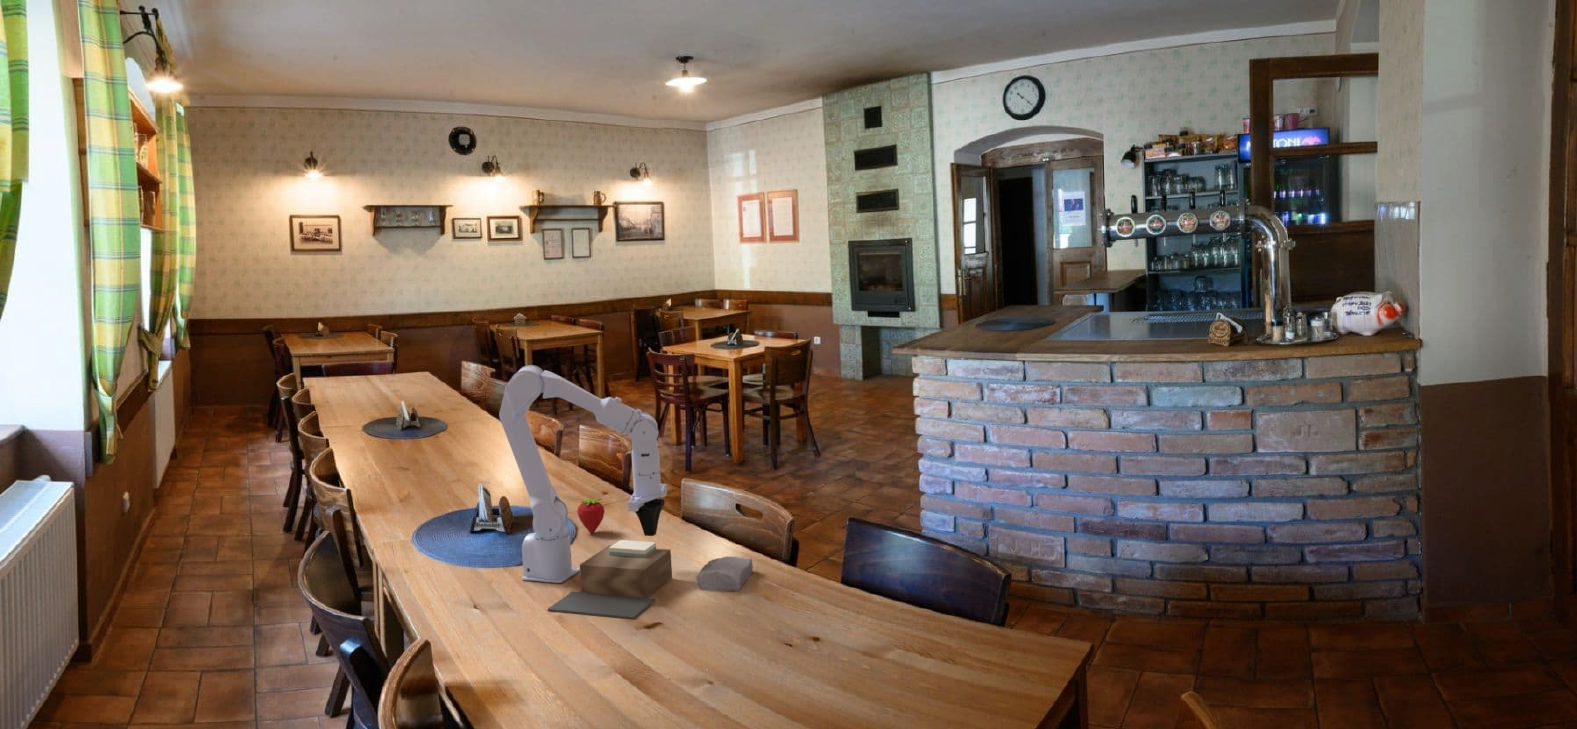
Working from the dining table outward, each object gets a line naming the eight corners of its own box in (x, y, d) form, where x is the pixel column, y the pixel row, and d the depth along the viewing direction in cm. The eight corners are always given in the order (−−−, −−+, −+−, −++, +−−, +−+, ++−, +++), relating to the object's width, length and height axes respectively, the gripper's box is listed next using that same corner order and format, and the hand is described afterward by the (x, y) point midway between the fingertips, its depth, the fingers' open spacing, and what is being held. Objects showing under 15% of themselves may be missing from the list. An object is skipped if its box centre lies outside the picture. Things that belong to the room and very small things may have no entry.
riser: (581, 594, 180) (579, 564, 180) (611, 572, 192) (609, 545, 191) (645, 599, 176) (644, 569, 175) (672, 577, 187) (670, 549, 187)
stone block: (695, 600, 180) (743, 591, 178) (689, 576, 180) (737, 568, 178) (712, 580, 192) (757, 572, 190) (706, 558, 192) (751, 550, 190)
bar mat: (547, 610, 172) (547, 608, 172) (572, 593, 181) (572, 591, 181) (633, 619, 167) (633, 617, 167) (655, 600, 176) (655, 598, 175)
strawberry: (594, 527, 225) (591, 487, 223) (611, 533, 219) (609, 492, 218) (573, 532, 220) (570, 492, 219) (590, 539, 215) (587, 497, 214)
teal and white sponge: (609, 554, 185) (608, 547, 185) (621, 546, 190) (620, 540, 189) (645, 557, 182) (644, 550, 182) (656, 549, 187) (655, 542, 187)
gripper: (648, 481, 184) (652, 547, 185) (678, 464, 197) (681, 525, 199) (616, 480, 186) (621, 544, 187) (648, 463, 199) (652, 523, 201)
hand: (650, 534), depth 193 cm, fingers closed
